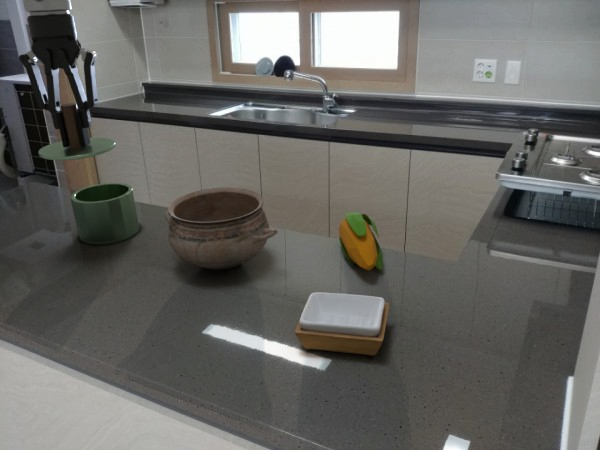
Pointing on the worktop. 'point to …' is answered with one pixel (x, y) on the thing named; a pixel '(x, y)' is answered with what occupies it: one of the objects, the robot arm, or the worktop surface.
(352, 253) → the corn
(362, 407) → the worktop surface
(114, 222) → the tin
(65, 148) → the tin lid
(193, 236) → the cooking pot
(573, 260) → the worktop surface
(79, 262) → the worktop surface
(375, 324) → the soap dish
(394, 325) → the worktop surface
